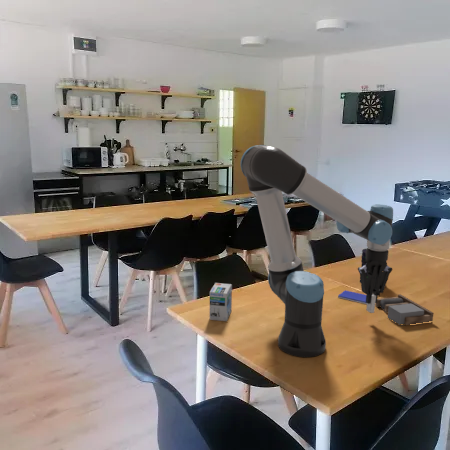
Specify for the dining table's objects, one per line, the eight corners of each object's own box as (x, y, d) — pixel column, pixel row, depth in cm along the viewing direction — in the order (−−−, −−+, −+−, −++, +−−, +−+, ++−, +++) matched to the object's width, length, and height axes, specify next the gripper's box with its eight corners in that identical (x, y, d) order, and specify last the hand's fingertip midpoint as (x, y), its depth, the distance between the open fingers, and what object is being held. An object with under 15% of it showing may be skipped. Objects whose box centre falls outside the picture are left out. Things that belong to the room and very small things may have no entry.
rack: (405, 326, 163) (407, 315, 162) (375, 306, 181) (376, 296, 180) (432, 323, 166) (433, 312, 165) (399, 303, 184) (400, 294, 183)
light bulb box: (226, 321, 165) (227, 293, 162) (208, 320, 166) (209, 292, 164) (231, 310, 175) (232, 283, 173) (214, 308, 176) (215, 282, 174)
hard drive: (374, 296, 189) (345, 289, 196) (367, 302, 183) (338, 295, 190) (373, 299, 189) (345, 293, 196) (367, 305, 183) (337, 298, 190)
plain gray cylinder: (385, 311, 176) (386, 301, 175) (379, 307, 180) (380, 298, 179) (403, 309, 178) (404, 300, 178) (397, 306, 182) (398, 296, 181)
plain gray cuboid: (399, 326, 164) (400, 313, 163) (387, 318, 170) (388, 305, 169) (422, 323, 167) (424, 310, 166) (410, 315, 173) (411, 303, 172)
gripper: (367, 252, 156) (359, 316, 160) (400, 250, 159) (391, 314, 164) (355, 246, 163) (348, 308, 168) (387, 245, 166) (379, 306, 171)
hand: (370, 311), depth 166 cm, fingers closed
